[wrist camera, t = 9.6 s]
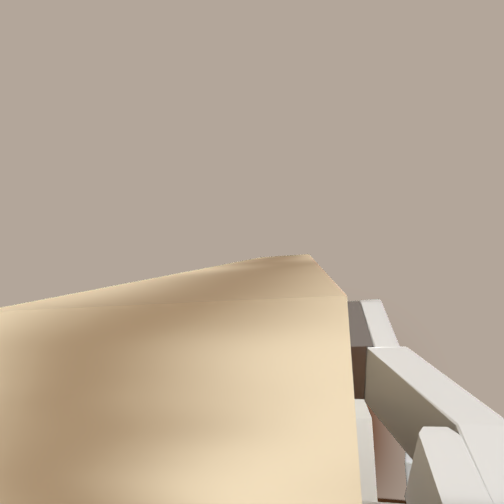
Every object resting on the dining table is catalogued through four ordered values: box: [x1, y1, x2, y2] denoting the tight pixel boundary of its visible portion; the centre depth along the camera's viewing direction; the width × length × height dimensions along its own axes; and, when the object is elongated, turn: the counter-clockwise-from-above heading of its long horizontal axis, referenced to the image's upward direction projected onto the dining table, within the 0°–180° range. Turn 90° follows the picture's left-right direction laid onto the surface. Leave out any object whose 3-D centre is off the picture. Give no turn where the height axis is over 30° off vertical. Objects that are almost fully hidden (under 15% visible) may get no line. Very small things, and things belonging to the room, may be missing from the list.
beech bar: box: [0, 254, 362, 504], centre depth 14 cm, size 4×22×4 cm, turn 170°
